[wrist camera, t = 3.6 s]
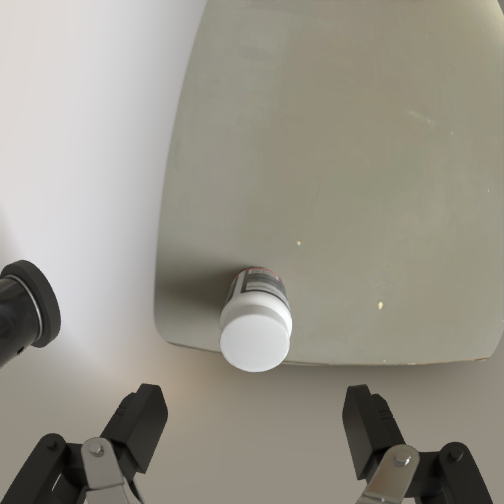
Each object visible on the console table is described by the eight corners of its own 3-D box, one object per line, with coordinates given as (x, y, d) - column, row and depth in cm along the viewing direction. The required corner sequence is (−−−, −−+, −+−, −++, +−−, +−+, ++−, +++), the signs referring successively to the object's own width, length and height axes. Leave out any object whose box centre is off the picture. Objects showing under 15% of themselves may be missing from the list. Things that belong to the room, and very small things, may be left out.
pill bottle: (250, 327, 24) (242, 388, 16) (218, 284, 23) (195, 334, 15) (296, 300, 23) (310, 356, 15) (266, 255, 22) (267, 293, 14)
